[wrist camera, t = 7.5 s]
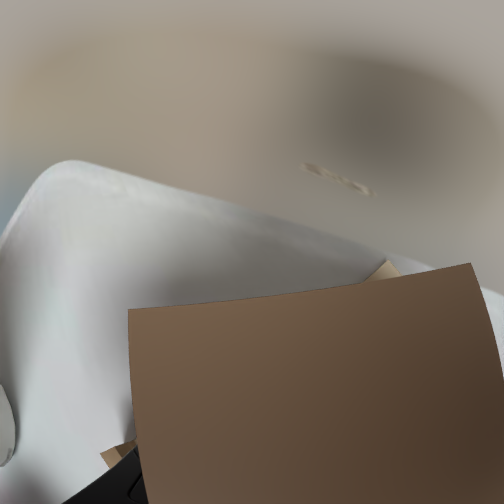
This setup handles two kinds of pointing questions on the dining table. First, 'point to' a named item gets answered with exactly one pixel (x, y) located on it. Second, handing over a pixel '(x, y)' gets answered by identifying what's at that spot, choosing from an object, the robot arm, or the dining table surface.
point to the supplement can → (6, 429)
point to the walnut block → (322, 396)
